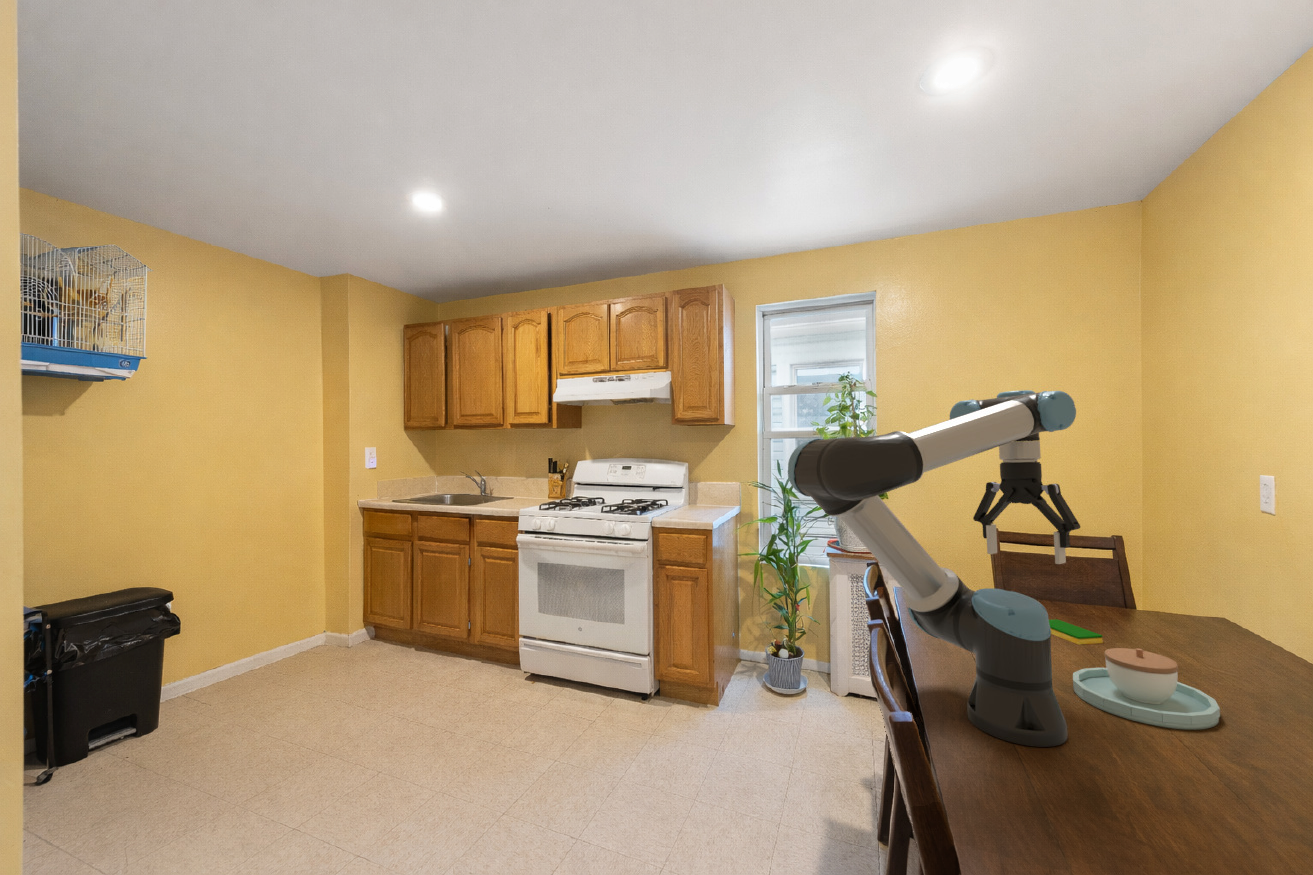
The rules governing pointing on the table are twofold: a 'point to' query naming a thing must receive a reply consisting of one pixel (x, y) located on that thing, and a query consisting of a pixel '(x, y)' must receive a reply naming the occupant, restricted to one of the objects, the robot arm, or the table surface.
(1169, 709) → the round tray
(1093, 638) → the dish sponge
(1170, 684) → the lidded jar
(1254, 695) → the table surface
